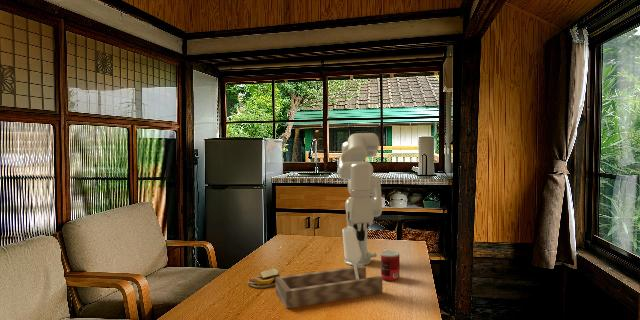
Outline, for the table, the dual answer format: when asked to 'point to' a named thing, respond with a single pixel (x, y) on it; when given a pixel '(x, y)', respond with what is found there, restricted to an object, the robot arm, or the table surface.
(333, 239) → the table surface
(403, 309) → the table surface
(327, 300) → the walnut U-rest
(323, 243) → the table surface
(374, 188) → the robot arm
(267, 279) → the toy sandwich meal
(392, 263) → the canned food
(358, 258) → the champagne flute
